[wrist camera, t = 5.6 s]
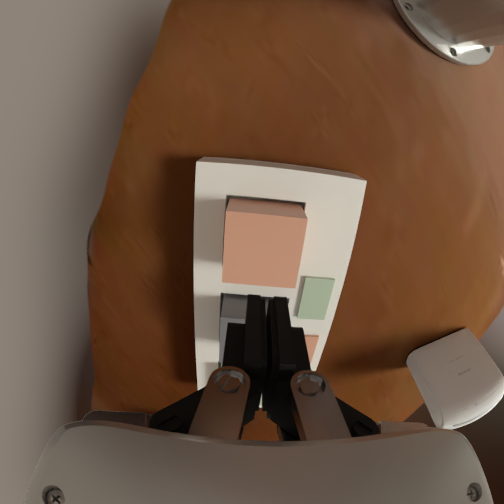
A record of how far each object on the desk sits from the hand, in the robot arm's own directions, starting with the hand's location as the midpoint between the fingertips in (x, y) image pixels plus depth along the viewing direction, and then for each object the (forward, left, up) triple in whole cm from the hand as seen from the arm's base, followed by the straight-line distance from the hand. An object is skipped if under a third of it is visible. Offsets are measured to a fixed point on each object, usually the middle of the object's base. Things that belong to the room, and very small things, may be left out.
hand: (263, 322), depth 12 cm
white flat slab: (+8, +1, -13) cm, 15 cm away
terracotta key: (0, 0, -10) cm, 10 cm away
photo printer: (+14, +25, -13) cm, 31 cm away
